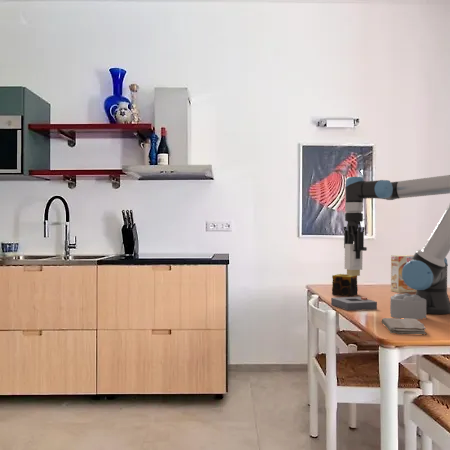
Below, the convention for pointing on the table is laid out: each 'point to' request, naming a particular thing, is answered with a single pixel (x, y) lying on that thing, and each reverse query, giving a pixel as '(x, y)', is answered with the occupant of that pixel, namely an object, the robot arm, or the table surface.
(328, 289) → the table surface
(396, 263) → the coffeecake box
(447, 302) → the robot arm
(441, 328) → the table surface
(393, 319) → the washcloth
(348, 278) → the candle
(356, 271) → the plug
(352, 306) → the socket
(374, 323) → the table surface
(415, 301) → the lumpy-topped squat cylinder
